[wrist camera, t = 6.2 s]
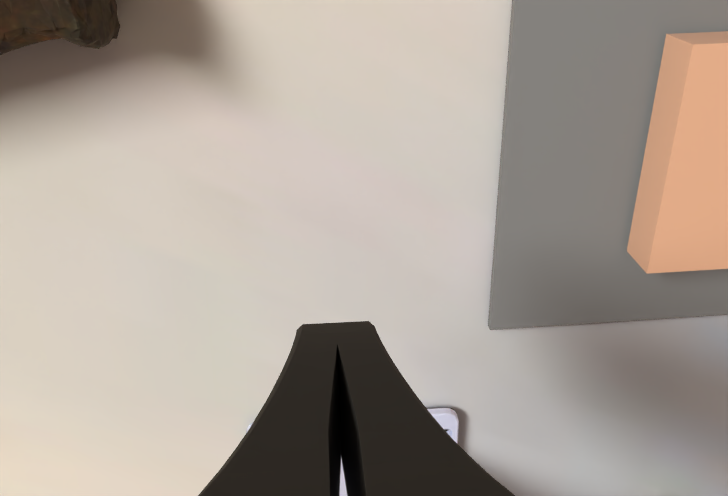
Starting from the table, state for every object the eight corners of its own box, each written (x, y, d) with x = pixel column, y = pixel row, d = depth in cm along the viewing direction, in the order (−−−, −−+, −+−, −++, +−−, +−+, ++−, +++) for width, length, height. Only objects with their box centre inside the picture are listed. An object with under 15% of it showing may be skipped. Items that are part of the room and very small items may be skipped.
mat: (863, 300, 25) (869, 305, 24) (488, 324, 24) (490, 329, 24) (1017, -97, 18) (1027, -96, 18) (518, -80, 18) (521, -80, 17)
